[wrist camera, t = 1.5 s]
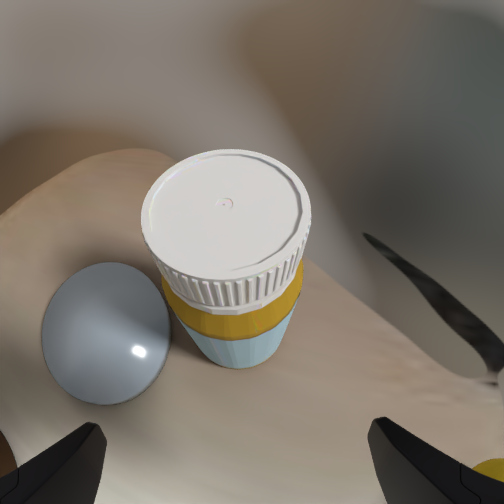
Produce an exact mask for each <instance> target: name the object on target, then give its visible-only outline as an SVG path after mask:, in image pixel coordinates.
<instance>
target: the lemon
mask: <svg viewBox="0 0 504 504" xmlns="http://www.w3.org/2000/svg"><path fill="white" fill-rule="evenodd" d="M472 469H473V470H475V471H477V472H479V473H481V474H484V475H486V476H488V477H491V478H494V479H496V480H499V481H502V482H504V458H499V459H490V460H487V461H484V462H482V463H480V464H478V465H477V466H475V467H474V468H472Z"/></svg>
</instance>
